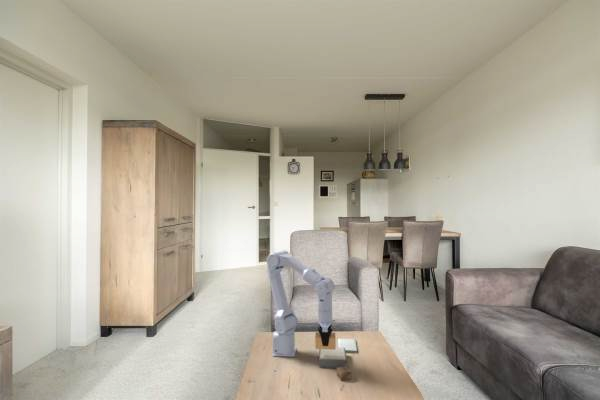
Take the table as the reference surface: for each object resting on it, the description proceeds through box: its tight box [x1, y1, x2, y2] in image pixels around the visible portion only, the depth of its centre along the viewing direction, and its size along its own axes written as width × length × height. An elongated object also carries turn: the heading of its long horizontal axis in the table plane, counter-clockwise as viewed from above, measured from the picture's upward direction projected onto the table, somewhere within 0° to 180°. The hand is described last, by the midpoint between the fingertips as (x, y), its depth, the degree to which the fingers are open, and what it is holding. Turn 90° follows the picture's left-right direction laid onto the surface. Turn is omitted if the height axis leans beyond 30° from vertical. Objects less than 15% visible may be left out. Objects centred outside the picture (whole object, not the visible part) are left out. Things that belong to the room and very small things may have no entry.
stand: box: [318, 346, 348, 369], centre depth 124 cm, size 11×11×3 cm
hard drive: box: [337, 338, 358, 354], centre depth 137 cm, size 2×8×12 cm
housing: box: [314, 331, 337, 350], centre depth 122 cm, size 8×4×5 cm, turn 85°
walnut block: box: [336, 365, 352, 382], centre depth 112 cm, size 4×4×3 cm
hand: (325, 343), depth 122 cm, fingers closed on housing, 4 cm apart
